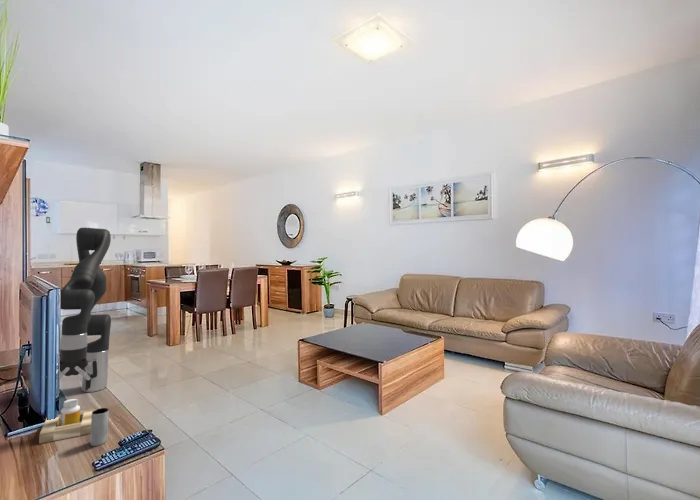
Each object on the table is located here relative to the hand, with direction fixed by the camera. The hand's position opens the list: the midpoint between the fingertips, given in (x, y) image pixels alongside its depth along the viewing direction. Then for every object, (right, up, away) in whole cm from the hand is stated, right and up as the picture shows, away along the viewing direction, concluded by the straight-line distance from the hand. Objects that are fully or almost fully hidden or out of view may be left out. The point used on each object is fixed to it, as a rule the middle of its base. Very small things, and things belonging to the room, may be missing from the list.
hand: (71, 392), depth 122 cm
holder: (0, -13, 0) cm, 13 cm away
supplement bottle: (-1, -13, 0) cm, 13 cm away
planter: (+15, -14, -8) cm, 22 cm away
